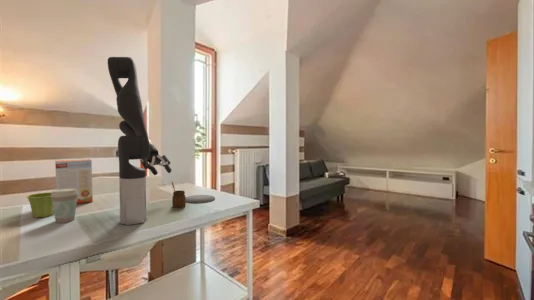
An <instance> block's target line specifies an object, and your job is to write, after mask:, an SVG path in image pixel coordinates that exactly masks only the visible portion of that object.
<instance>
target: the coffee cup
mask: <svg viewBox="0 0 534 300" xmlns="http://www.w3.org/2000/svg"><path fill="white" fill-rule="evenodd" d="M50 193H51V196H50V197H52V203H53V214H54V219H55V223H57V224H64V223H70V222H73V221H75V217H76V210H77V204H76V202H77V194H78V191H77V189H76V188H63V189H56V188H55V189H53V190H52V191H51V192H50Z"/></svg>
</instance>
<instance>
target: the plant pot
mask: <svg viewBox="0 0 534 300" xmlns="http://www.w3.org/2000/svg"><path fill="white" fill-rule="evenodd" d="M51 193H52V192H41V193H39V192H38V193H34V194H33V193H32V194H30V195H26V198H27V199H28V200H27V201H28V202H29V206H30V209H31V213H32V218H46V217H50V216H52V215H53V214H54V209H53V203H52V197H50V196H51Z"/></svg>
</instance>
